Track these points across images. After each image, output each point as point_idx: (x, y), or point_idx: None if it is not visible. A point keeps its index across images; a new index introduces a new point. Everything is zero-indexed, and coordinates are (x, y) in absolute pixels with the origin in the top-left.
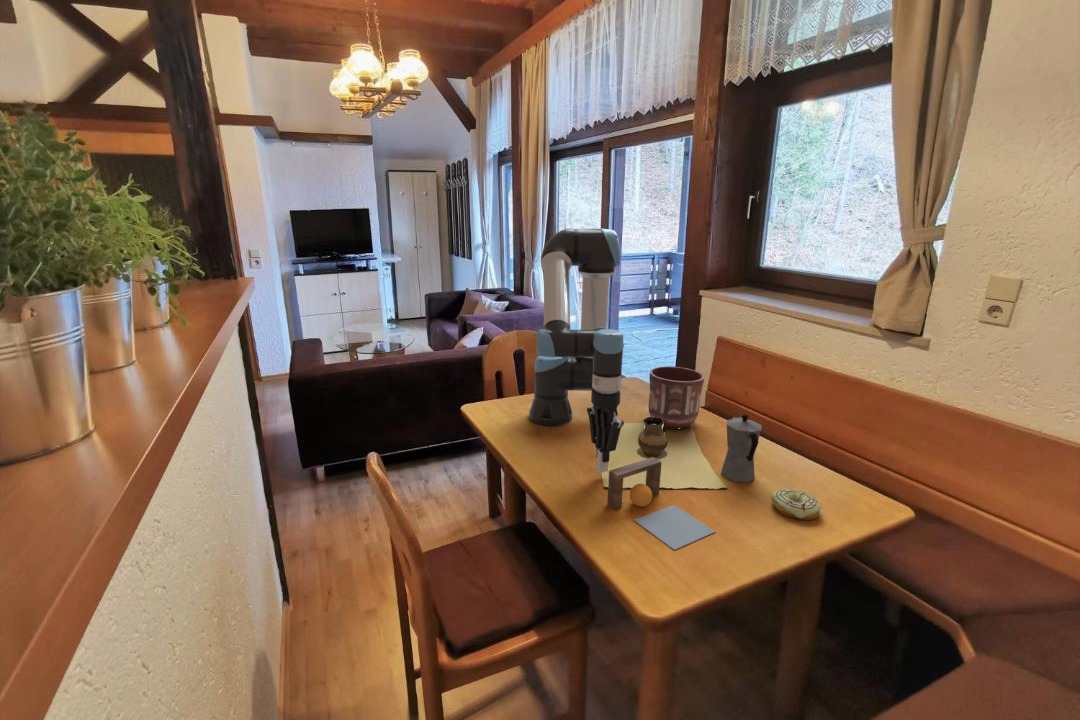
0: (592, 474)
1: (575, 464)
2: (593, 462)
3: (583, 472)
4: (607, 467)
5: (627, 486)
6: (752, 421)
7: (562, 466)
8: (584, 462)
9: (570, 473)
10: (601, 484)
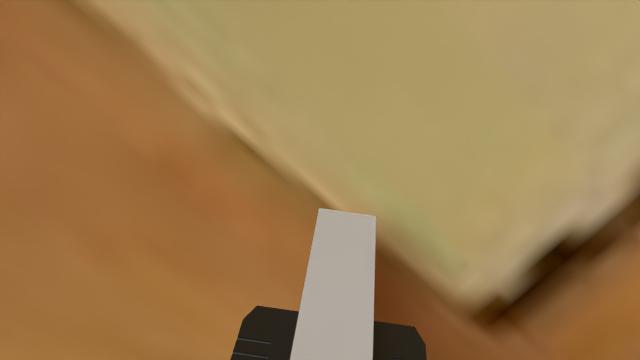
0: (256, 241)
1: (28, 225)
2: (64, 72)
3: (185, 270)
4: (374, 243)
5: (628, 167)
6: None
7: (17, 318)
8: (27, 140)
9: (146, 346)
10: (431, 299)
